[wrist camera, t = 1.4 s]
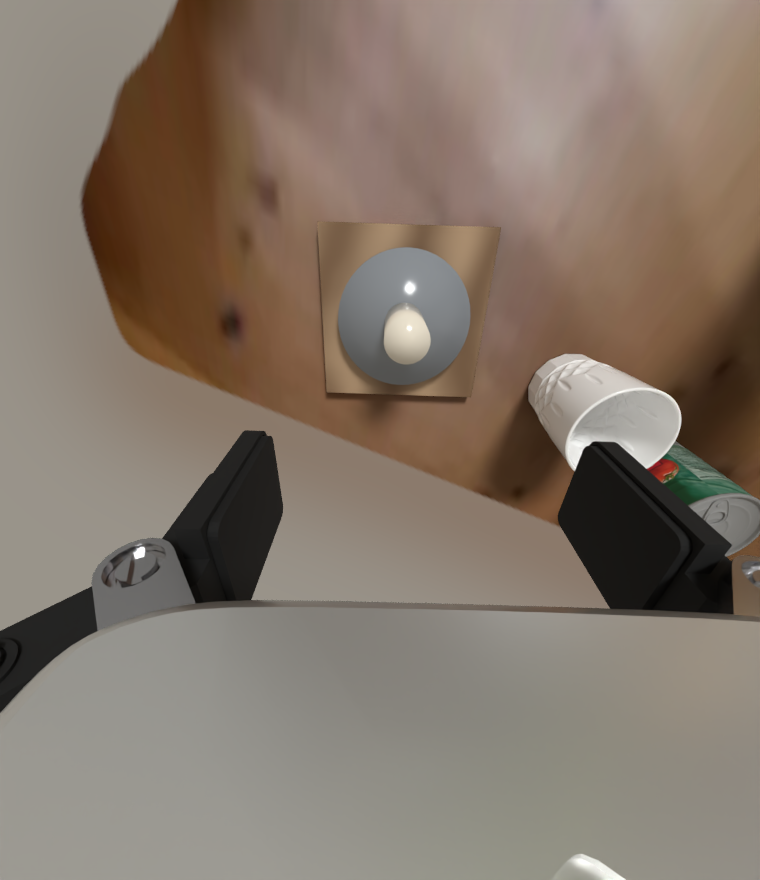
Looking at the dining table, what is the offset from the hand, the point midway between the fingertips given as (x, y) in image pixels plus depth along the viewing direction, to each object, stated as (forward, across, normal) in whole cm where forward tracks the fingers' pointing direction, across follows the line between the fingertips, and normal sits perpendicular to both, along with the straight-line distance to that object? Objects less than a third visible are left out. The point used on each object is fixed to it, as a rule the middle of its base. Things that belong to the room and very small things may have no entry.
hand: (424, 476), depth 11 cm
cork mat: (+23, 0, 0) cm, 23 cm away
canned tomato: (+24, -26, +14) cm, 38 cm away
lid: (+22, 0, 0) cm, 22 cm away
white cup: (+24, -16, +6) cm, 29 cm away
